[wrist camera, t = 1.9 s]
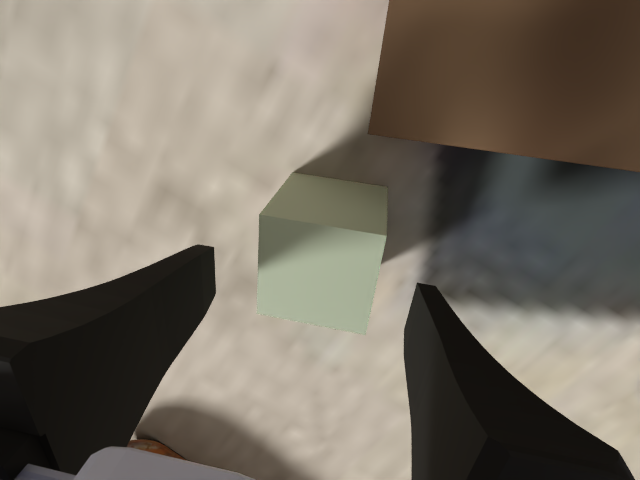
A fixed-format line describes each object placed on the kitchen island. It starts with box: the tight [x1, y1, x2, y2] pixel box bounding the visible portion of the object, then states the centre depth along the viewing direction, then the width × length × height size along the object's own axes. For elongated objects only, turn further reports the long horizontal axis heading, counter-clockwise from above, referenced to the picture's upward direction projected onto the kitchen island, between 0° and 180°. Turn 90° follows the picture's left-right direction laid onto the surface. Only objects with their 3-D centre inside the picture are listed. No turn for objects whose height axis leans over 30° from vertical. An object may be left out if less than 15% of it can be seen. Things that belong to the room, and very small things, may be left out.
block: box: [257, 172, 388, 335], centre depth 16 cm, size 4×4×5 cm
